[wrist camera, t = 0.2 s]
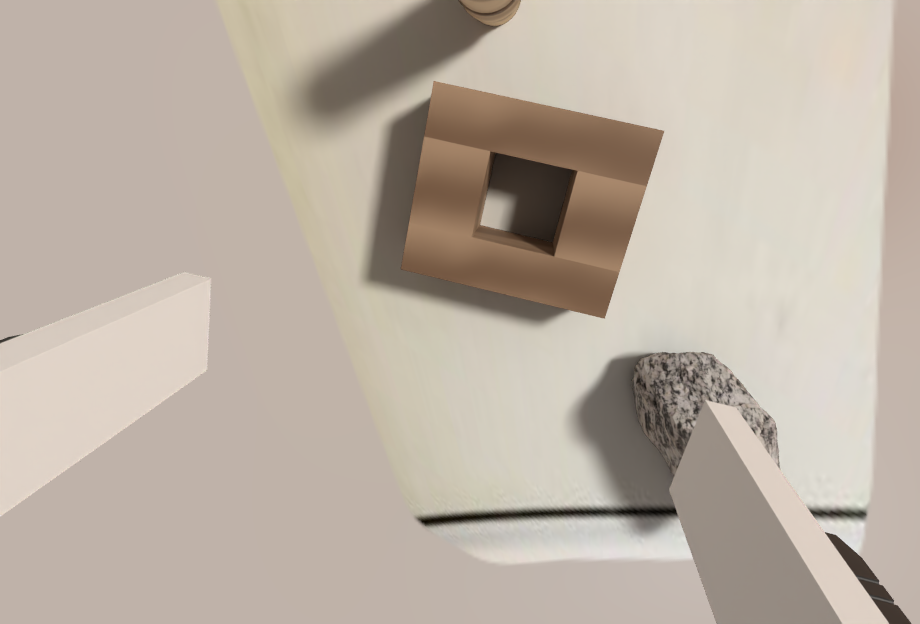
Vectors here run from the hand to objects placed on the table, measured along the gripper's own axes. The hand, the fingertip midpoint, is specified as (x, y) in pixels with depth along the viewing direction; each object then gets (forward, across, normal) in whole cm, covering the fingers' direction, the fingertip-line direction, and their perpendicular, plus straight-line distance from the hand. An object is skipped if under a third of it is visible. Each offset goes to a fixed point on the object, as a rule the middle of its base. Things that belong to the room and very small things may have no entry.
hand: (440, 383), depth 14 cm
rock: (+28, +18, -12) cm, 35 cm away
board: (+27, +1, +2) cm, 27 cm away
